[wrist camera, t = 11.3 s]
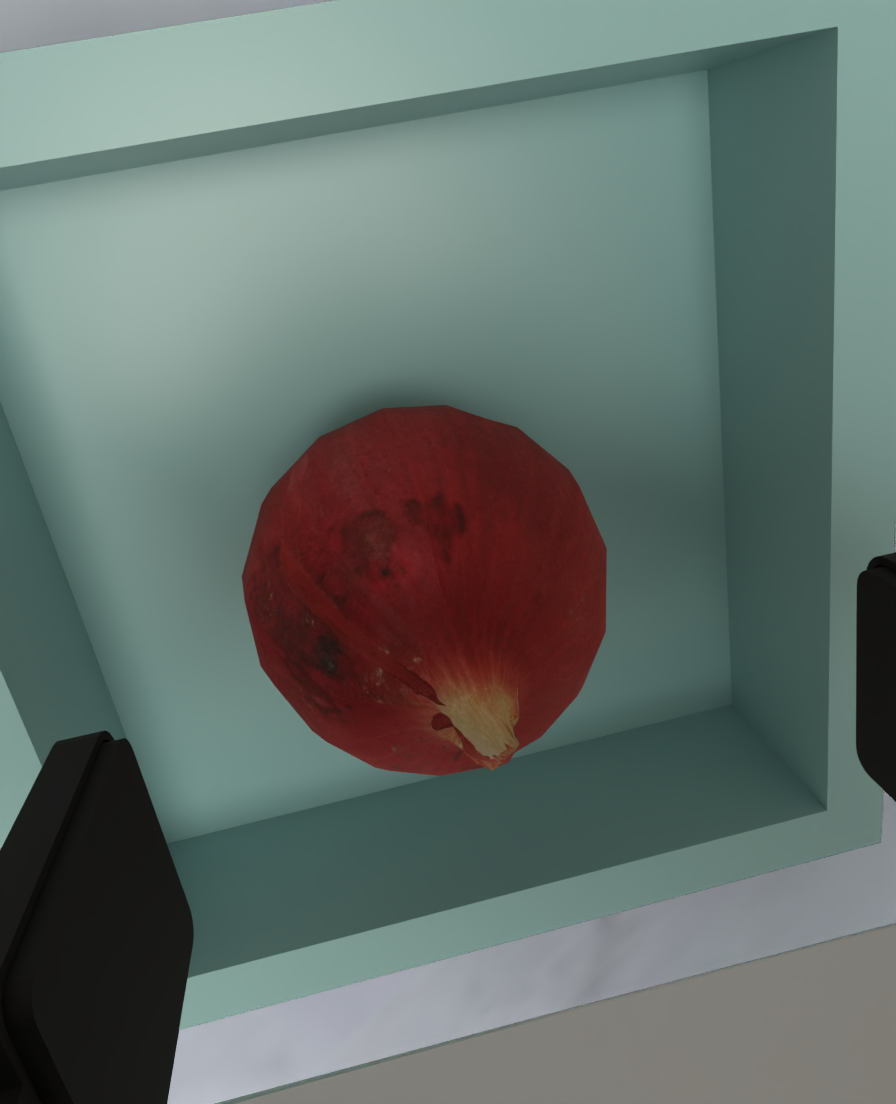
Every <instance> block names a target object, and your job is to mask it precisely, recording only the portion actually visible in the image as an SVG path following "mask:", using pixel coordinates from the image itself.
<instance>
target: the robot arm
mask: <svg viewBox="0 0 896 1104" xmlns="http://www.w3.org/2000/svg"><path fill="white" fill-rule="evenodd" d="M856 751H857V755H858V758H859V761H860V763H861V765H862V767H863V769H864V770H865V772H866V773H867V774H868V775H869V776H870V777H871V778H872V779H873V780H874V781H875V782H876V783H877V784H878V785H879V786H880V787H881V788H882V789H883V790H884V791H885V792H886V793H887V794H888V795H889V796H890V797H892V798H893V799H894V800H895V801H896V552H895V553H891V554H886V555H882V556H877V557H874V558H873V559H872V560H870V562H869V564H868V566H867V570H865V571H862V572H861V573H860V574H859V576H858V579H857V614H856ZM193 940H194V928H193V919H192V914H191V910H190V907H189V904H188V901H187V898H186V896H185V893H184V890H183V887H182V885H181V882H180V879H179V876H178V873H177V871H176V868H175V865H174V862H173V859H172V857H171V854H170V851H169V848H168V846H167V843H166V840H165V837H164V834H163V832H162V829H161V826H160V823H159V820H158V818H157V815H156V812H155V809H154V807H153V804H152V801H151V798H150V795H149V793H148V790H147V787H146V784H145V781H144V779H143V776H142V773H141V770H140V768H139V765H138V762H137V759H136V756H135V754H134V751H133V748H132V746H131V744H130V743H129V741H128V740H127V739H125V738H123V739H119V740H114V738H113V737H112V735H111V734H110V733H109V732H108V731H106V730H104V731H100V732H96V733H91V734H87V735H82V736H78V737H73V738H69V739H65V740H60V741H56V743H55V744H54V745H53V746H52V748H51V750H50V752H49V754H48V756H47V758H46V760H45V762H44V764H43V766H42V768H41V770H40V772H39V774H38V776H37V778H36V780H35V782H34V784H33V786H32V788H31V790H30V792H29V794H28V796H27V798H26V800H25V802H24V804H23V806H22V808H21V810H20V812H19V814H18V816H17V818H16V820H15V822H14V824H13V826H12V828H11V830H10V832H9V834H8V836H7V838H6V840H5V842H4V844H3V846H2V848H1V850H0V1104H167V1100H168V1094H169V1088H170V1082H171V1076H172V1070H173V1064H174V1058H175V1051H176V1045H177V1039H178V1033H179V1027H180V1021H181V1015H182V1009H183V1002H184V996H185V990H186V984H187V978H188V972H189V966H190V960H191V954H192V947H193ZM216 1104H896V923H894V924H890V925H886V926H882V927H878V928H874V929H870V930H867V931H863V932H859V933H855V934H851V935H847V936H844V937H840V938H836V939H832V940H828V941H824V942H821V943H817V944H813V945H809V946H805V947H802V948H798V949H794V950H790V951H786V952H782V953H779V954H775V955H771V956H767V957H763V958H760V959H756V960H752V961H748V962H744V963H740V964H737V965H733V966H729V967H725V968H721V969H718V970H714V971H710V972H706V973H702V974H699V975H695V976H691V977H687V978H683V979H680V980H676V981H672V982H668V983H665V984H661V985H657V986H653V987H649V988H646V989H642V990H638V991H634V992H630V993H627V994H623V995H619V996H615V997H612V998H608V999H604V1000H600V1001H596V1002H593V1003H589V1004H585V1005H581V1006H577V1007H574V1008H570V1009H566V1010H562V1011H559V1012H555V1013H551V1014H547V1015H544V1016H540V1017H536V1018H532V1019H529V1020H525V1021H521V1022H517V1023H514V1024H510V1025H506V1026H502V1027H499V1028H495V1029H491V1030H487V1031H484V1032H480V1033H476V1034H472V1035H469V1036H465V1037H461V1038H458V1039H454V1040H450V1041H446V1042H443V1043H439V1044H435V1045H432V1046H428V1047H424V1048H420V1049H417V1050H413V1051H409V1052H406V1053H402V1054H398V1055H394V1056H391V1057H387V1058H383V1059H380V1060H376V1061H372V1062H368V1063H365V1064H361V1065H357V1066H354V1067H350V1068H346V1069H342V1070H339V1071H335V1072H331V1073H328V1074H324V1075H320V1076H316V1077H313V1078H309V1079H305V1080H302V1081H298V1082H294V1083H290V1084H287V1085H283V1086H279V1087H275V1088H272V1089H268V1090H264V1091H261V1092H257V1093H253V1094H249V1095H246V1096H242V1097H238V1098H235V1099H231V1100H227V1101H223V1102H220V1103H216Z"/></svg>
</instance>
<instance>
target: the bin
mask: <svg viewBox="0 0 896 1104" xmlns="http://www.w3.org/2000/svg"><path fill="white" fill-rule="evenodd" d="M434 405H448V406H451V407H454V408H457V409H460V410H462V411H465V412H468V413H471V414H474V415H477V416H480V417H483V418H486V419H490V420H493V421H497V422H501V423H504V424H508V425H511V426H515V427H518V428H519V429H520V430H522V431H523V432H524V433H525V434H526V435H528V436H529V437H530V438H531V439H532V440H534V441H535V442H536V443H537V444H539V445H540V446H541V447H542V448H543V449H545V450H546V451H547V452H548V453H549V454H551V455H552V456H553V457H554V458H556V459H557V460H558V461H559V462H560V463H562V464H563V465H564V466H565V467H566V468H568V469H569V471H570V472H571V474H572V475H573V477H574V478H575V480H576V482H577V483H578V485H579V487H580V489H581V491H582V493H583V496H584V498H585V500H586V502H587V505H588V507H589V509H590V511H591V514H592V516H593V518H594V521H595V523H596V525H597V527H598V530H599V532H600V534H601V536H602V539H603V541H604V543H605V545H606V548H607V573H606V632H605V635H604V637H603V640H602V642H601V644H600V647H599V649H598V652H597V654H596V656H595V659H594V661H593V664H592V666H591V668H590V671H589V673H588V676H587V678H586V680H585V683H584V685H583V687H582V689H581V691H580V692H579V694H578V696H577V697H576V698H575V699H574V701H573V702H572V703H571V704H570V705H569V706H568V707H567V708H566V710H565V711H564V712H563V713H562V714H561V715H560V716H559V718H558V719H557V720H556V721H555V722H554V723H553V724H552V725H551V727H550V728H549V729H548V730H547V731H546V732H545V733H544V735H543V736H542V737H540V738H539V739H537V740H535V741H534V742H532V743H530V744H529V745H527V746H525V747H524V748H522V749H520V750H519V751H517V752H515V753H514V755H513V756H512V758H511V760H510V761H509V762H508V763H506V764H504V765H502V766H500V767H498V768H496V769H494V770H492V771H491V770H489V769H487V768H480V769H474V770H469V771H464V772H459V773H453V774H448V775H443V776H435V775H425V774H415V773H406V772H396V771H388V770H383V769H379V768H375V767H373V766H371V765H369V764H367V763H365V762H364V761H362V760H360V759H358V758H356V757H354V756H352V755H350V754H348V753H346V752H345V751H343V750H341V749H339V748H337V747H335V746H333V745H331V744H329V743H328V742H326V741H325V740H323V739H322V738H321V737H319V736H318V735H317V734H316V733H314V732H313V731H312V730H311V729H310V728H309V727H308V725H307V724H306V723H305V722H304V721H303V719H302V718H301V717H300V716H299V714H298V713H297V712H296V711H295V710H294V708H293V707H292V706H291V705H290V704H289V702H288V701H287V700H286V699H285V698H284V696H283V695H282V694H281V693H280V692H279V690H278V689H277V688H276V687H275V686H274V684H273V683H272V681H271V680H270V679H269V677H268V676H267V675H266V673H265V672H264V670H263V669H262V668H261V666H260V662H259V658H258V654H257V650H256V646H255V642H254V638H253V633H252V629H251V625H250V621H249V617H248V613H247V609H246V605H245V601H244V592H243V583H242V573H243V570H244V566H245V562H246V559H247V555H248V551H249V548H250V544H251V540H252V537H253V533H254V530H255V526H256V522H257V519H258V515H259V511H260V508H261V504H262V502H263V501H264V499H265V497H266V496H267V494H268V492H269V491H270V489H271V488H272V486H273V485H274V484H275V483H276V482H277V481H278V480H279V479H280V478H281V477H282V476H283V475H284V474H285V473H286V472H287V471H288V470H289V468H290V467H291V466H292V465H293V464H294V463H295V462H296V461H297V460H298V459H299V458H300V457H301V456H302V455H303V454H304V453H305V451H306V450H307V449H308V448H309V447H310V446H311V445H312V444H313V443H314V442H315V441H316V440H317V439H318V438H319V437H320V436H322V435H324V434H326V433H329V432H331V431H333V430H335V429H338V428H340V427H342V426H344V425H346V424H349V423H351V422H353V421H355V420H357V419H360V418H362V417H364V416H366V415H368V414H371V413H373V412H375V411H377V410H380V409H382V408H395V407H414V406H434ZM895 524H896V0H335V1H329V2H323V3H316V4H310V5H303V6H297V7H291V8H284V9H278V10H271V11H265V12H259V13H252V14H246V15H239V16H233V17H227V18H220V19H214V20H207V21H201V22H195V23H188V24H182V25H175V26H169V27H163V28H156V29H150V30H143V31H137V32H131V33H124V34H118V35H111V36H105V37H99V38H92V39H86V40H79V41H73V42H67V43H60V44H54V45H47V46H41V47H35V48H28V49H22V50H16V51H9V52H3V53H0V850H1V848H2V846H3V844H4V842H5V840H6V838H7V836H8V834H9V832H10V830H11V828H12V826H13V824H14V822H15V820H16V818H17V816H18V814H19V812H20V810H21V808H22V806H23V804H24V802H25V800H26V798H27V796H28V794H29V792H30V790H31V788H32V786H33V784H34V782H35V780H36V778H37V776H38V774H39V772H40V770H41V768H42V766H43V764H44V762H45V760H46V758H47V756H48V754H49V752H50V750H51V748H52V746H53V745H54V744H55V743H56V741H60V740H65V739H69V738H73V737H78V736H82V735H87V734H91V733H96V732H100V731H104V730H106V731H108V732H109V733H110V734H111V735H112V737H113V738H114V740H119V739H123V738H125V739H127V740H128V741H129V743H130V744H131V746H132V748H133V751H134V754H135V756H136V759H137V762H138V765H139V768H140V770H141V773H142V776H143V779H144V781H145V784H146V787H147V790H148V793H149V795H150V798H151V801H152V804H153V807H154V809H155V812H156V815H157V818H158V820H159V823H160V826H161V829H162V832H163V834H164V837H165V840H166V843H167V846H168V848H169V851H170V854H171V857H172V859H173V862H174V865H175V868H176V871H177V873H178V876H179V879H180V882H181V885H182V887H183V890H184V893H185V896H186V898H187V901H188V904H189V907H190V910H191V914H192V919H193V928H194V940H193V947H192V954H191V960H190V966H189V972H188V978H187V984H186V990H185V996H184V1002H183V1009H182V1015H181V1021H180V1027H179V1030H181V1029H185V1028H189V1027H192V1026H196V1025H200V1024H204V1023H207V1022H211V1021H215V1020H218V1019H222V1018H226V1017H230V1016H233V1015H237V1014H241V1013H245V1012H248V1011H252V1010H256V1009H260V1008H263V1007H267V1006H271V1005H275V1004H278V1003H282V1002H286V1001H290V1000H293V999H297V998H301V997H305V996H308V995H312V994H316V993H320V992H323V991H327V990H331V989H334V988H338V987H342V986H346V985H349V984H353V983H357V982H361V981H364V980H368V979H372V978H376V977H379V976H383V975H387V974H391V973H394V972H398V971H402V970H406V969H409V968H413V967H417V966H421V965H424V964H428V963H432V962H435V961H439V960H443V959H447V958H450V957H454V956H458V955H462V954H465V953H469V952H473V951H477V950H480V949H484V948H488V947H492V946H495V945H499V944H503V943H507V942H510V941H514V940H518V939H522V938H525V937H529V936H533V935H537V934H540V933H544V932H548V931H551V930H555V929H559V928H563V927H566V926H570V925H574V924H578V923H581V922H585V921H589V920H593V919H596V918H600V917H604V916H608V915H611V914H615V913H619V912H623V911H626V910H630V909H634V908H638V907H641V906H645V905H649V904H652V903H656V902H660V901H664V900H667V899H671V898H675V897H679V896H682V895H686V894H690V893H694V892H697V891H701V890H705V889H709V888H712V887H716V886H720V885H724V884H727V883H731V882H735V881H739V880H742V879H746V878H750V877H754V876H757V875H761V874H765V873H768V872H772V871H776V870H780V869H783V868H787V867H791V866H795V865H798V864H802V863H806V862H810V861H813V860H817V859H821V858H825V857H828V856H832V855H836V854H840V853H843V852H847V851H851V850H855V849H858V848H862V847H866V846H869V845H873V844H877V843H881V831H882V809H883V789H882V788H881V787H880V786H879V785H878V784H877V783H876V782H875V781H874V780H873V779H872V778H871V777H870V776H869V775H868V774H867V773H866V772H865V770H864V769H863V767H862V765H861V763H860V761H859V758H858V755H857V751H856V614H857V579H858V576H859V574H860V573H861V572H862V571H865V570H867V566H868V564H869V562H870V560H872V559H873V558H874V557H877V556H882V555H886V554H891V553H894V546H895Z"/></svg>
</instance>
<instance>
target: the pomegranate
mask: <svg viewBox="0 0 896 1104" xmlns="http://www.w3.org/2000/svg"><path fill="white" fill-rule="evenodd" d="M606 573H607V548H606V545H605V543H604V541H603V539H602V536H601V534H600V532H599V530H598V527H597V525H596V523H595V521H594V518H593V516H592V514H591V511H590V509H589V507H588V505H587V502H586V500H585V498H584V496H583V493H582V491H581V489H580V487H579V485H578V483H577V482H576V480H575V478H574V477H573V475H572V474H571V472H570V471H569V469H568V468H566V467H565V466H564V465H563V464H562V463H560V462H559V461H558V460H557V459H556V458H554V457H553V456H552V455H551V454H549V453H548V452H547V451H546V450H545V449H543V448H542V447H541V446H540V445H539V444H537V443H536V442H535V441H534V440H532V439H531V438H530V437H529V436H528V435H526V434H525V433H524V432H523V431H522V430H520V429H519V428H518V427H515V426H511V425H508V424H504V423H501V422H497V421H493V420H490V419H486V418H483V417H480V416H477V415H474V414H471V413H468V412H465V411H462V410H460V409H457V408H454V407H451V406H448V405H434V406H414V407H395V408H382V409H380V410H377V411H375V412H373V413H371V414H368V415H366V416H364V417H362V418H360V419H357V420H355V421H353V422H351V423H349V424H346V425H344V426H342V427H340V428H338V429H335V430H333V431H331V432H329V433H326V434H324V435H322V436H320V437H319V438H318V439H317V440H316V441H315V442H314V443H313V444H312V445H311V446H310V447H309V448H308V449H307V450H306V451H305V453H304V454H303V455H302V456H301V457H300V458H299V459H298V460H297V461H296V462H295V463H294V464H293V465H292V466H291V467H290V468H289V470H288V471H287V472H286V473H285V474H284V475H283V476H282V477H281V478H280V479H279V480H278V481H277V482H276V483H275V484H274V485H273V486H272V488H271V489H270V491H269V492H268V494H267V496H266V497H265V499H264V501H263V502H262V504H261V508H260V511H259V515H258V519H257V522H256V526H255V530H254V533H253V537H252V540H251V544H250V548H249V551H248V555H247V559H246V562H245V566H244V570H243V573H242V583H243V592H244V601H245V605H246V609H247V613H248V617H249V621H250V625H251V629H252V633H253V638H254V642H255V646H256V650H257V654H258V658H259V662H260V666H261V668H262V669H263V670H264V672H265V673H266V675H267V676H268V677H269V679H270V680H271V681H272V683H273V684H274V686H275V687H276V688H277V689H278V690H279V692H280V693H281V694H282V695H283V696H284V698H285V699H286V700H287V701H288V702H289V704H290V705H291V706H292V707H293V708H294V710H295V711H296V712H297V713H298V714H299V716H300V717H301V718H302V719H303V721H304V722H305V723H306V724H307V725H308V727H309V728H310V729H311V730H312V731H313V732H314V733H316V734H317V735H318V736H319V737H321V738H322V739H323V740H325V741H326V742H328V743H329V744H331V745H333V746H335V747H337V748H339V749H341V750H343V751H345V752H346V753H348V754H350V755H352V756H354V757H356V758H358V759H360V760H362V761H364V762H365V763H367V764H369V765H371V766H373V767H375V768H379V769H383V770H388V771H396V772H406V773H415V774H425V775H435V776H443V775H448V774H453V773H459V772H464V771H469V770H474V769H480V768H487V769H489V770H491V771H492V770H494V769H496V768H498V767H500V766H502V765H504V764H506V763H508V762H509V761H510V760H511V758H512V756H513V755H514V753H515V752H517V751H519V750H520V749H522V748H524V747H525V746H527V745H529V744H530V743H532V742H534V741H535V740H537V739H539V738H540V737H542V736H543V735H544V733H545V732H546V731H547V730H548V729H549V728H550V727H551V725H552V724H553V723H554V722H555V721H556V720H557V719H558V718H559V716H560V715H561V714H562V713H563V712H564V711H565V710H566V708H567V707H568V706H569V705H570V704H571V703H572V702H573V701H574V699H575V698H576V697H577V696H578V694H579V692H580V691H581V689H582V687H583V685H584V683H585V680H586V678H587V676H588V673H589V671H590V668H591V666H592V664H593V661H594V659H595V656H596V654H597V652H598V649H599V647H600V644H601V642H602V640H603V637H604V635H605V632H606Z"/></svg>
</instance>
